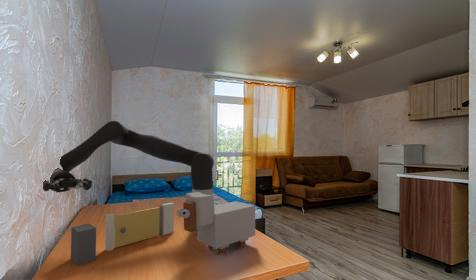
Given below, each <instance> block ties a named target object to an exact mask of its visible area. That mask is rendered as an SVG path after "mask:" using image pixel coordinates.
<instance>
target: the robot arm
mask: <svg viewBox="0 0 476 280" xmlns="http://www.w3.org/2000/svg"><path fill="white" fill-rule="evenodd" d="M109 142H110V143H113V144H116V145H120V146H125V147H128V148H132V149H135V150H138V151H139V152H141V153H144V154H146V155H149V156H152V157H154V158H156V159H159V160H163V161H167V162H173V163H180V164H183V165H186V166H188V167H190V181H191V189H192V190H191V193H194V192H200V193H203V194H205V195H213V196H214V181H213V168H214V166H215V162H214V161H215V160H214V158H213V157H212V155H211V154H210V153H207V152H203V151H199V150H194V149H190V148H187V147H185V146H183V145H181V144H178V143H176V142H174V141H172V140H169V139H167V138H164V137H160V136H157V135H151V134H142V133H138V132H136V131H134V130H132V129H130V128H128V127H127V126H125V125H124V124H123V123H122V122H120V121H118V120H111V121H108V122H106V123H105V124H104V125H103V126H102V127H100V128H99V129H98V130H97V131H96V132H94V133H93V134H92V135H91V136H89V137H88V138H87V139H86V140H85V141H83V142H81V144H79V145H77V146H76V147H74V148H73V149H70V150H69V151H68V152H66V153H64V154H63V155H61V156H60V157H61V159H60V163H59V165H60V166H61V168H59V167H58V168H57V169H55V170H54V171H53V173H52V175H51V177H50V183H49V181H46V180H45V181H44V182H43V181H42V182H43V189H42V190H43V192H49V191H50V190H51V191H52V192H56V193H66V192H68V191H70V190H73V189H74V190H80V189H83V190H85V191H89V190H90V189H91V188H92V187H93V186H92V185H93V180H91V179H88V178H86V177H85V178H82V179H81V178H80V179H79V178H76V177H75V175H74V174H73V173H71V171H72V170H74V169H75V168H76V167H78V166H80V165H81V164H83V163H85V162H86V161H87V160H88V159H89V158H90V157H91V156H92V155H93V154H94V153H95V151H97V150H98V149H99V148H100V147H102V146H103V145H105V144H107V143H109ZM62 169H63V170H62ZM196 231H197V226H196Z"/></svg>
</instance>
